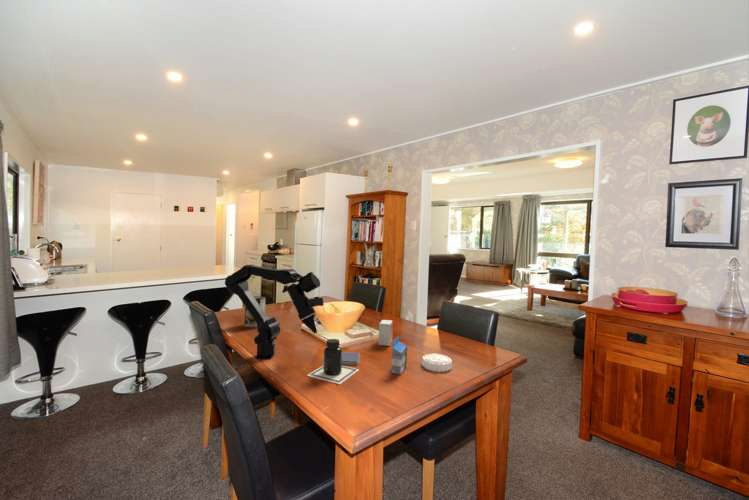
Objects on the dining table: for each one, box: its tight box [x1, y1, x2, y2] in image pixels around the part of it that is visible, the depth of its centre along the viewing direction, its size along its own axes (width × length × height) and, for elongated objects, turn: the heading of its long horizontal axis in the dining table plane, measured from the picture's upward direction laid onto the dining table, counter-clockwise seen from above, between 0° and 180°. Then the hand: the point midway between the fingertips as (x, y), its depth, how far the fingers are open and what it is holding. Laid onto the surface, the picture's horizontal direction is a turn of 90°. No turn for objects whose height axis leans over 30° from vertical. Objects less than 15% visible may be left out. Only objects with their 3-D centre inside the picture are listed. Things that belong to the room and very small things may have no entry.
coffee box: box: [244, 295, 267, 329], centre depth 181 cm, size 9×6×16 cm
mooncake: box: [421, 352, 453, 373], centre depth 133 cm, size 12×12×4 cm
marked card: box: [306, 364, 360, 385], centre depth 123 cm, size 14×14×1 cm
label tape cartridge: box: [390, 335, 408, 376], centre depth 127 cm, size 9×4×12 cm, turn 160°
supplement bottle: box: [322, 338, 343, 376], centre depth 122 cm, size 7×7×12 cm
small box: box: [378, 319, 394, 347], centre depth 159 cm, size 8×6×10 cm
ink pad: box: [342, 351, 361, 366], centre depth 136 cm, size 11×11×1 cm
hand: (315, 332), depth 131 cm, fingers open, 9 cm apart
